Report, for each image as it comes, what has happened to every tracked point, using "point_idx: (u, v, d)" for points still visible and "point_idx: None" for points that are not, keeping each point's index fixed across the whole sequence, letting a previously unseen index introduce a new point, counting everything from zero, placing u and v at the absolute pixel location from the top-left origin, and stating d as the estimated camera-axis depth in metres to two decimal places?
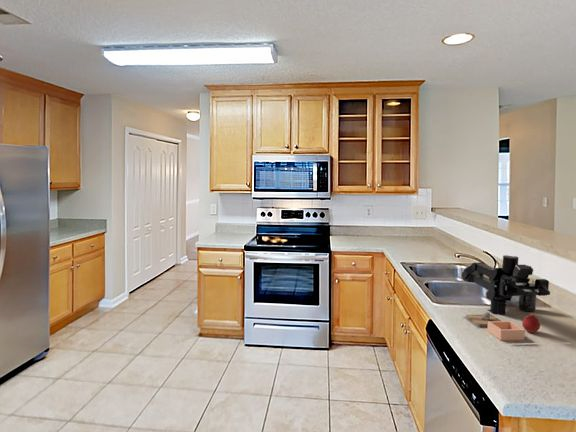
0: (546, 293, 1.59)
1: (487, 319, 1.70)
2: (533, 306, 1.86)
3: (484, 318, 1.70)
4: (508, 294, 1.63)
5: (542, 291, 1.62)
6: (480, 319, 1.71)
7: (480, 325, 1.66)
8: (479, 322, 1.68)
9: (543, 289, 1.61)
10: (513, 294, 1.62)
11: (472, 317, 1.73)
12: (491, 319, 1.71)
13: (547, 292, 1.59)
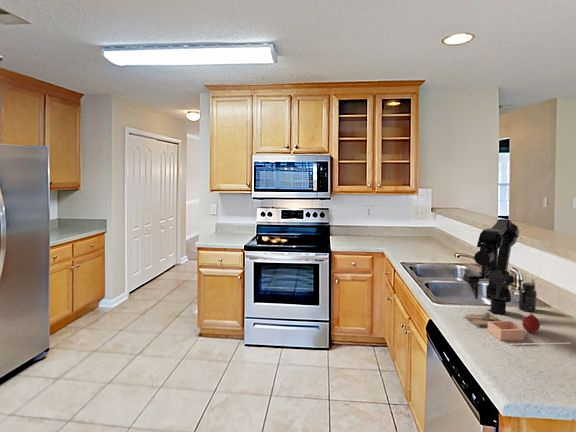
0: (497, 294, 1.71)
1: (487, 319, 1.70)
2: (533, 306, 1.86)
3: (484, 318, 1.70)
4: None
5: (498, 288, 1.71)
6: (480, 319, 1.71)
7: (480, 325, 1.66)
8: (479, 322, 1.68)
9: (499, 290, 1.70)
10: (470, 285, 1.71)
11: (472, 317, 1.73)
12: (491, 319, 1.71)
13: (497, 296, 1.71)
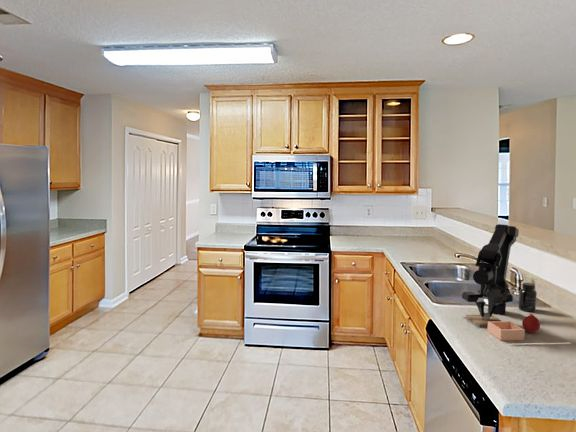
0: None
1: (487, 319, 1.70)
2: (533, 306, 1.86)
3: (484, 318, 1.70)
4: None
5: (490, 306, 1.71)
6: (480, 319, 1.71)
7: (480, 325, 1.66)
8: (479, 322, 1.68)
9: (491, 308, 1.71)
10: (476, 303, 1.72)
11: (472, 317, 1.73)
12: (491, 319, 1.71)
13: None
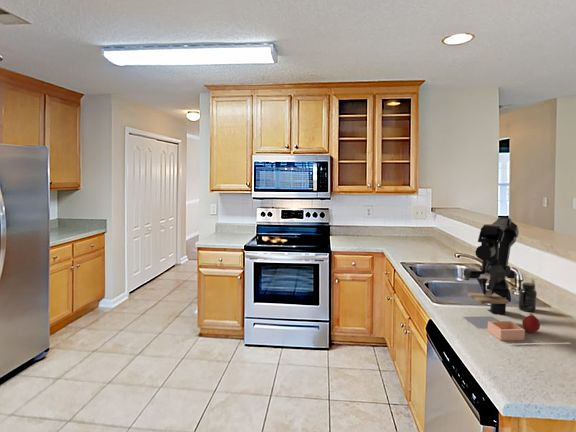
0: None
1: (489, 296, 1.69)
2: (533, 306, 1.86)
3: (486, 295, 1.69)
4: None
5: (492, 283, 1.70)
6: (482, 296, 1.70)
7: (482, 301, 1.64)
8: (481, 299, 1.66)
9: (493, 285, 1.69)
10: (478, 281, 1.71)
11: (474, 294, 1.72)
12: (493, 296, 1.70)
13: None
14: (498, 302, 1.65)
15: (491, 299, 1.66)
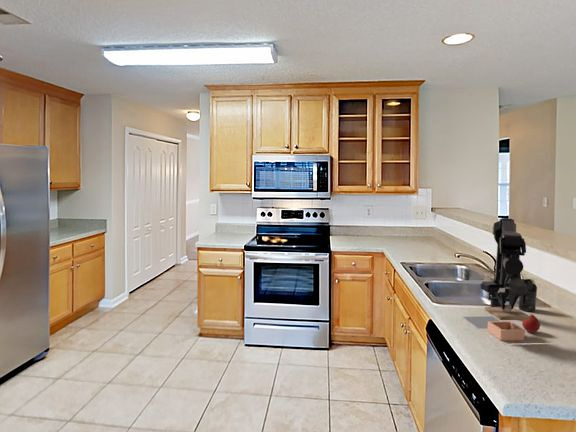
0: (510, 304, 1.57)
1: (508, 311, 1.55)
2: (533, 306, 1.86)
3: (505, 310, 1.56)
4: None
5: (511, 297, 1.57)
6: (501, 311, 1.56)
7: (501, 318, 1.51)
8: (500, 314, 1.53)
9: (512, 299, 1.56)
10: (496, 294, 1.58)
11: (492, 309, 1.59)
12: (513, 311, 1.57)
13: None
14: (519, 318, 1.51)
15: (511, 315, 1.53)
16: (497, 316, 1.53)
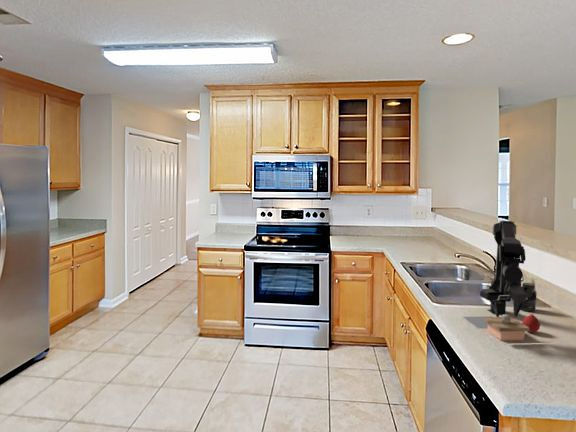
0: (514, 312, 1.57)
1: (508, 322, 1.56)
2: (533, 306, 1.86)
3: (504, 321, 1.56)
4: None
5: (515, 304, 1.57)
6: (500, 322, 1.57)
7: (501, 329, 1.51)
8: (499, 326, 1.53)
9: (517, 307, 1.56)
10: (491, 302, 1.58)
11: (491, 320, 1.59)
12: (512, 322, 1.57)
13: (515, 313, 1.57)
14: (518, 329, 1.52)
15: (510, 326, 1.53)
16: (496, 327, 1.54)
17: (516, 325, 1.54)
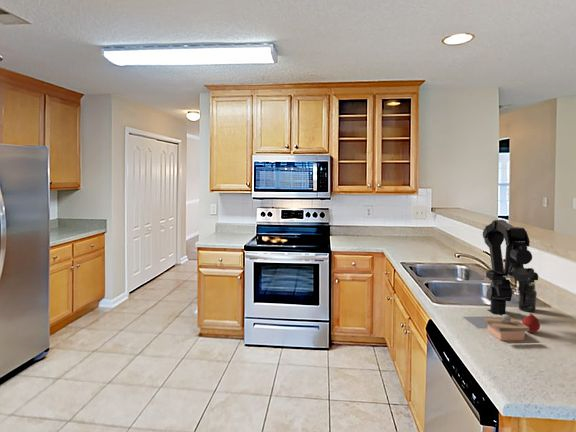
0: (520, 291, 1.71)
1: (508, 322, 1.56)
2: (533, 306, 1.86)
3: (504, 321, 1.56)
4: (490, 279, 1.71)
5: (521, 285, 1.70)
6: (500, 322, 1.57)
7: (501, 329, 1.51)
8: (499, 326, 1.53)
9: (523, 287, 1.70)
10: (493, 282, 1.71)
11: (491, 320, 1.59)
12: (512, 322, 1.57)
13: (521, 293, 1.70)
14: (518, 329, 1.52)
15: (510, 326, 1.53)
16: (496, 327, 1.54)
17: (516, 325, 1.54)
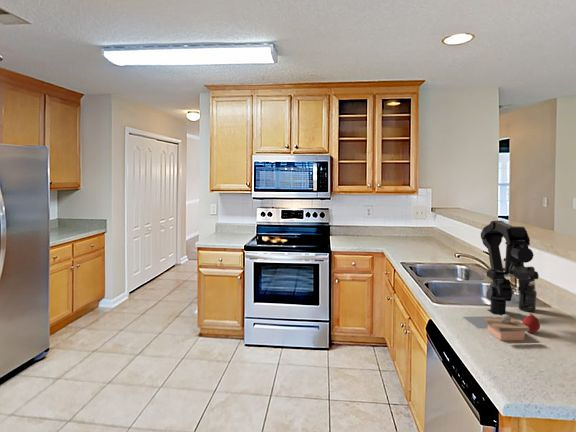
0: (521, 290, 1.71)
1: (508, 322, 1.56)
2: (533, 306, 1.86)
3: (504, 321, 1.56)
4: (491, 278, 1.72)
5: (522, 284, 1.71)
6: (500, 322, 1.57)
7: (501, 329, 1.51)
8: (499, 326, 1.53)
9: (523, 286, 1.70)
10: (494, 281, 1.72)
11: (491, 320, 1.59)
12: (512, 322, 1.57)
13: (521, 292, 1.71)
14: (518, 329, 1.52)
15: (510, 326, 1.53)
16: (496, 327, 1.54)
17: (516, 325, 1.54)
